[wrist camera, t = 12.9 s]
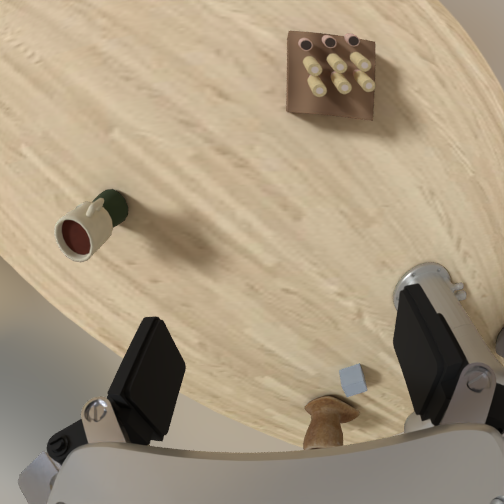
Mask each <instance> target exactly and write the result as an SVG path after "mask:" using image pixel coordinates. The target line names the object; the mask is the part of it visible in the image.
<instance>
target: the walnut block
mask: <svg viewBox="0 0 504 504" xmlns="http://www.w3.org/2000/svg"><path fill="white" fill-rule="evenodd" d="M324 35H329V36H332V37H333V38H334V39H335V40H336V42H337V43H336V46H335V47H333V48H328V47H326V46H325V45H324V44H323V42H322V37H323V36H324ZM301 38H307V39H309V40H310V41H311V42H312V44H313V46H312V48H311V49H310V50H308V51H304V50H302V49H301V48H300V46H299V44H298V42H299V40H300V39H301ZM359 40H360V42H359V44H358V45H357V46H351V45H349V44H348V43H347V42H346V41H345V38H344V36H338V35H330V34H322V33H312V32H300V31H289V33H288V38H287V101H286V111H287V112H295V113H310V114H322V115H332V116H342V117H350V118H358V119H365V120H372V121H373V107H374V90H373V91H371V92H366V91H364V90H363V88H362V87H361V86H360V85H359V84H358V82H357V81H356V80H355V79H354V76H353V71H354V70H356V69H358V70H360V69H359V68H358V67H357V66H356V65H355V64H354V63H353V62H352V61H351V60H350V55H351V54H352V53H353V52H359V53H360V54H361V55H363V56H364V57H365V58H367V59H368V60H369V61H370V62H371V68H370V70H368V71H366V72H365V73H366V74H367V75H368V76H369V77H370V78H371V79H372V80H373V81H374V82H375V42H373V41H368V40H363V39H359ZM330 54H336V55H338V56H339V57H340V58H341V59H342V60H343V61H344V62H345V63H346V64H347V70H346V71H345V72H344V73H341V74H342V75H343V76H344V77H345V78H346V79H347V80H348V82H349V83H350V84H351V86H352V89H351V91H350V92H349V93H347V94H342V93H340V92H339V91H338V89H337V88H336V86H335V85H334V83H333V82H332V80H331V73H332V72H334V70H333V68H332V67H331V66H330V65H329V63H328V62H327V57H328V55H330ZM307 56H312V57H314V58H315V59H316V61H317V62H318V63H319V64H320V66H321V67H322V73H321V74H320V75H318V77H319V78H320V79H321V81H322V82H323V84H324V85H325V87H326V88H327V92H326V94H325V95H324V96H322V97H317V96H315V95H314V94H313V93H312V90H311V88H310V86H309V84H308V77H309V76H310V74H309V73H308V71H307V70H306V68H305V66H304V64H303V60H304V58H305V57H307ZM363 72H364V71H363Z"/></svg>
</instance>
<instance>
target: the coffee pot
mask: <svg viewBox="0 0 504 504" xmlns="http://www.w3.org/2000/svg"><path fill="white" fill-rule="evenodd" d="M495 348H496V353H497V354H499V355H500V356H502V357H504V328H503V329H502V330H501V332H500V333H499V335H498V337H497V341H496V346H495Z"/></svg>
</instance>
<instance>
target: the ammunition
mask: <svg viewBox="0 0 504 504" xmlns="http://www.w3.org/2000/svg"><path fill="white" fill-rule="evenodd" d="M344 38H345V41H346V42H347V43H348V44H349V45H351V46H357V45H358V44H359V42H360V40H359V38H358V37H357V36H355V35H354V34H350V33H348V34H346V35H345V36H344ZM322 42H323V44H324V45H325V46H326V47H328V48H333V47H335V46H336V43H337V42H336V40H335V39H334V38H333V37H332V36H329V35H324V36H323V37H322ZM298 44H299V46H300V48H301V49H302V50H304V51H308V50H310V49H311V48H312V46H313V44H312V42H311V41H310V40H309V39H307V38H301V39H300V40H299V42H298ZM350 60H351V61H352V62H353V63H354V64H355V65H356V66H357V67H358V68H359V69H360V70H358V69H356V70H354V71H353V76H354V79H355V80H356V81H357V82H358V84H359V85H360V86H361V87H362V88H363V90H364V91H366V92H371V91H373V90H374V89H375V86H376V85H375V82H374V81H373V80H372V79H371V78H370V77H369V76H368V75H367V74H366V73H365V72H366V71H368V70H370V68H371V62H370V61H369V60H368V59H367V58H365V57H364V56H363V55H361V54H360V53H359V52H353V53H352V54H351V55H350ZM327 62H328V63H329V65H330V66H331V67H332V68H333V70H334V72H332V73H331V80H332V82H333V83H334V85H335V86H336V88H337V89H338V91H339V92H340V93H342V94H347V93H349V92H350V91H351V89H352V86H351V84H350V83H349V82H348V80H347V79H346V78H345V77H344V76H343V75H342V74H341V73H344V72H345V71H346V70H347V64H346V63H345V62H344V61H343V60H342V59H341V58H340V57H339V56H338V55H336V54H330V55H328V57H327ZM303 64H304V66H305V68H306V70H307V71H308V73H309V74H310V76H309V77H308V84H309V86H310V88H311V90H312V93H313V94H314V95H315V96H317V97H322V96H324V95H325V94H326V92H327V88H326V87H325V85H324V84H323V82H322V81H321V79H320V78H319V77H318V75H320V74H321V73H322V67H321V66H320V64H319V63H318V62H317V61H316V59H315V58H314V57H312V56H307V57H305V58H304V60H303ZM363 71H364V72H363Z"/></svg>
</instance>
